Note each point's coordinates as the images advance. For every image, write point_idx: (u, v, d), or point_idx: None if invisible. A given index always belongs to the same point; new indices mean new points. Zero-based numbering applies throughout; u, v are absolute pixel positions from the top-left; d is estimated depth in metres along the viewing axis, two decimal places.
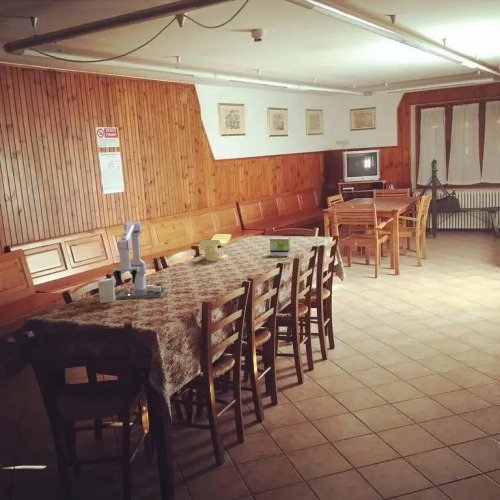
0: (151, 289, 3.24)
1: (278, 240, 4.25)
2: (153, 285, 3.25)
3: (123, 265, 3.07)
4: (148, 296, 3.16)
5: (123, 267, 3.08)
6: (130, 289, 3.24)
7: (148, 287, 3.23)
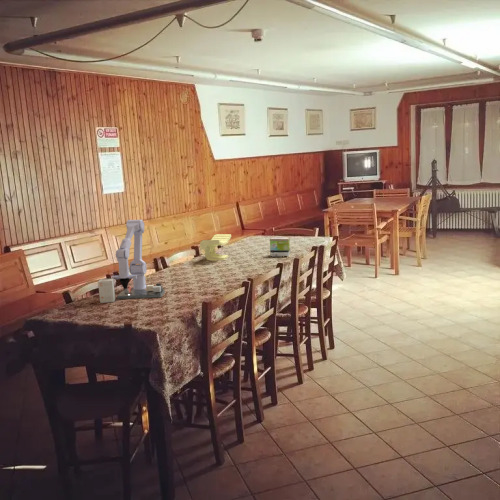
0: (151, 289, 3.24)
1: (278, 240, 4.25)
2: (153, 285, 3.25)
3: (122, 273, 3.18)
4: (148, 296, 3.16)
5: (122, 275, 3.18)
6: (130, 289, 3.24)
7: (148, 287, 3.23)
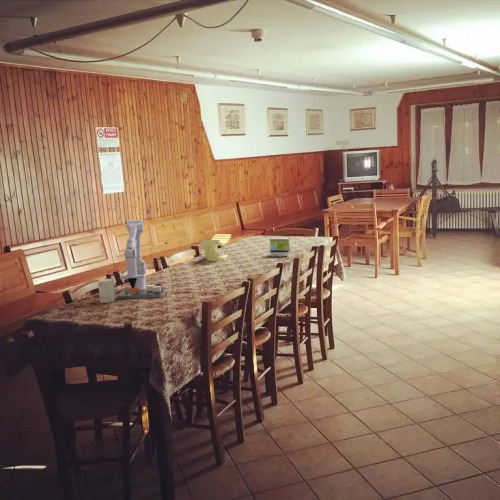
0: (151, 289, 3.24)
1: (278, 240, 4.25)
2: (153, 285, 3.25)
3: (130, 273, 3.18)
4: (148, 296, 3.16)
5: (130, 275, 3.18)
6: (137, 290, 3.21)
7: (148, 287, 3.23)
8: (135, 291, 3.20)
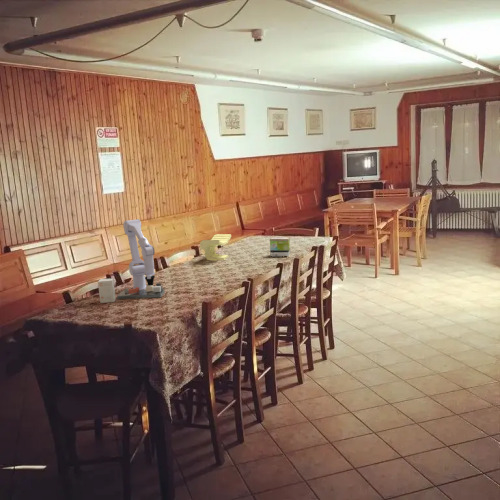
0: (151, 290, 3.22)
1: (278, 240, 4.25)
2: (153, 286, 3.24)
3: None
4: (148, 296, 3.16)
5: None
6: (137, 290, 3.21)
7: (148, 288, 3.22)
8: (135, 291, 3.20)
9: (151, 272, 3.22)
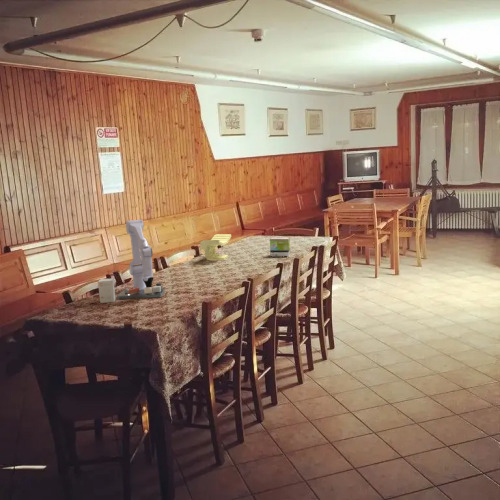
0: (149, 292, 3.17)
1: (278, 240, 4.25)
2: (151, 287, 3.19)
3: None
4: (148, 296, 3.16)
5: None
6: (137, 290, 3.21)
7: (146, 289, 3.17)
8: (135, 291, 3.20)
9: (149, 274, 3.17)
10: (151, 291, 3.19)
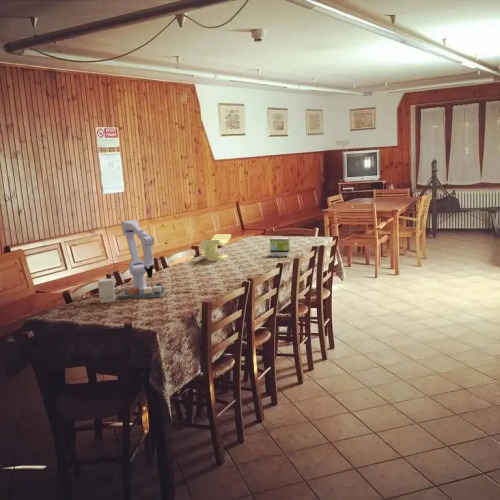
0: (149, 292, 3.17)
1: (278, 240, 4.25)
2: (151, 287, 3.19)
3: None
4: (148, 296, 3.16)
5: None
6: (137, 290, 3.21)
7: (146, 290, 3.17)
8: (135, 291, 3.20)
9: (150, 262, 3.21)
10: (151, 291, 3.19)
